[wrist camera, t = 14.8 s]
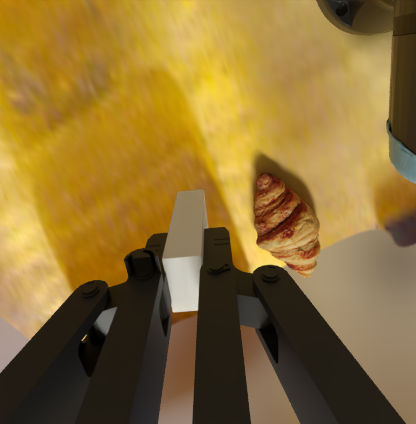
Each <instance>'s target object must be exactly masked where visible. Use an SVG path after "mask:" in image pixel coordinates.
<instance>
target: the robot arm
mask: <svg viewBox="0 0 416 424" xmlns="http://www.w3.org/2000/svg"><path fill="white" fill-rule="evenodd" d="M317 3H318V5H319V7H320V9H321V11H322V12H323V14H324V15H325V17H326V18H327V19H328V20H329V21H330V22H331V23H332V24H333V25H334V26H336V27H337V28H339V29H340V30H342V31H345V32H347V33H350V34H355V35H372V34H379V33H384V32H388V31H391V30H393V36H392V53H391V76H390V99H389V118H388V120H387V124H386V128H387V132H388V135H389V157H390V160H391V163H392V164H393V165H394V166H395V168H396V169H397V171H398V172H399V173H400V174H401V175H402V176H403V177H405V178H406V179H408V180H409V181H411V182H413V183H415V184H416V0H317ZM124 262H125V265H126V269H127V272H128V279H127V281H126V282H124V283H121V284H119V285H115V286H112V287H108V284H107V283H106V282H105V281H101V280H93V281H89V282H86V283H85V284H83V285H81V286H79V287H78V288H77V289H76V290H75V291H74V292H73V293H72V294H71V295H70V296H69V298H68V299H67V300H66V301H65V302H64V303H63V304H62V305H61V306H60V308H59V309H58V310H57V311H56V312H55V313H54V314H53V315H52V316H51V318H50V319H49V320H48V321H47V322H46V323H45V324H44V325H43V326H42V328H41V329H40V330H39V331H38V332H37V333H36V334H35V335H34V336H33V337H32V339H31V340H30V341H29V342H28V343H27V344H26V345H25V347H23V349H22V350H21V351H20V352H19V353H18V354H17V355H16V357H14V359H13V360H12V361H11V362H10V363H9V364H8V365H7V366H6V367H5V369H4V370H3V371H2V372H1V373H0V424H158V418H159V411H160V403H161V397H162V389H163V382H164V374H165V368H166V361H167V353H168V346H169V339H170V332H171V324H172V319H171V314H170V309H171V305H172V309H173V312H183V311H196V310H198V319H197V339H196V360H195V382H194V402H193V422H192V423H193V424H251V420H250V412H249V402H248V393H247V384H246V376H245V366H244V357H243V348H242V339H241V330H240V325H244V326H249V327H254V328H255V330H256V333H257V335H258V337H259V339H260V341H261V343H262V345H263V347H264V349H265V351H266V353H267V356H268V358H269V360H270V362H271V364H272V366H273V368H274V370H275V372H276V374H277V376H278V378H279V380H280V382H281V384H282V386H283V389H284V390H285V392H286V395H287V397H288V399H289V401H290V403H291V405H292V407H293V409H294V411H295V413H296V415H297V417H298V419H299V422H300V423H301V424H406V423H405V422H404V421H403V419H402V418H401V417H400V416H399V414H398V413H397V412H396V410H395V409H394V408H393V407H392V405H391V404H390V403H389V401H388V400H387V399H386V398H385V396H384V395H383V394H382V393H381V391H380V390H379V389H378V387H377V386H376V385H375V384H374V382H373V381H372V380H371V378H370V377H369V376H368V375H367V373H366V372H365V371H364V370H363V368H362V367H361V366H360V364H359V363H358V362H357V361H356V359H355V358H354V357H353V355H352V354H351V353H350V352H349V350H348V349H347V348H346V346H345V345H344V344H343V343H342V341H341V340H340V339H339V338H338V336H337V335H336V334H335V332H334V331H333V330H332V329H331V327H330V326H329V325H328V324H327V322H326V321H325V320H324V318H323V317H322V316H321V315H320V313H319V312H318V311H317V309H316V308H315V307H314V306H313V304H312V303H311V302H310V300H309V299H308V298H307V297H306V295H305V294H304V293H303V292H302V290H301V289H300V288H299V286H298V285H297V284H296V283H295V281H294V280H293V279H292V277H291V276H290V275H289V274H288V272H287V271H286V270H284V269H283V268H281V267H279V266H275V265H264V266H261V267H258V268H257V269H256V270H255V271H254V272H253V274H252V273H246V272H242V271H240V270H238V269H237V268H236V267H235V266H234V265H233V262H232V253H231V245H230V236H229V231H228V230H227V229H226V228H225V227H218V228H208V220H207V212H206V204H205V195H204V189H203V190H193V191H182V192H178V193H177V197H176V202H175V206H174V210H173V214H172V219H171V223H170V227H169V231H168V233H159V234H153V235H152V236H151V237H150V238H149V239H148V240H147V243H146V247H145V248H142V249H137V250H135V251H132V252H131V253H129V254H128V255H126V257H125V258H124ZM85 335H87V336H86V337H85ZM84 337H85V339H84V340H83V341H82V339H83V338H84Z"/></svg>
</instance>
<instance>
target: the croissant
mask: <svg viewBox="0 0 416 424" xmlns="http://www.w3.org/2000/svg"><path fill="white" fill-rule="evenodd" d="M257 186H258V192H257V193H256V196H255V199H254V201H255V213H256V217H255V227H256V230H257V234H258V238H257V242H256V243H257V245H258V246H259V247H260V248H262V249H264V250H267V251H269V252H270V253H271V254H272V256H274V257H275V258H277V259H279V260H282V261H284V262H285V263H286V264H287V265H288V267H290V268H291V269H292V270H295V271H297V272H298V273H299V275H301V276H303V277H306V278H308V277H309V276H310V275H311V272H312V271H313V270H314V269H315V267H316V265H317V264H316V258H317V257H318V254H319V253H320V244H319V243H320V242H319V241H318V236H319V234H318V231H319V227H320V225H319V224H320V223H319V221H318V218H317V217H316V215H315V214H314V212H313V210H312V209H311V208H310V206H309V205H308V204H307V203H306V202H305V201H303V200H302V199H301V198H300V197H299V196H298V195H297V194H296V193H295V192H293V191H292V190H291V189H290V188H288V187H287V186H285V184H284V182H283V181H282V180H281V179H279V178H277V177H274V176H272V175H271V174H269V173H262V174H261V176H260V177H258V180H257Z"/></svg>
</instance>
